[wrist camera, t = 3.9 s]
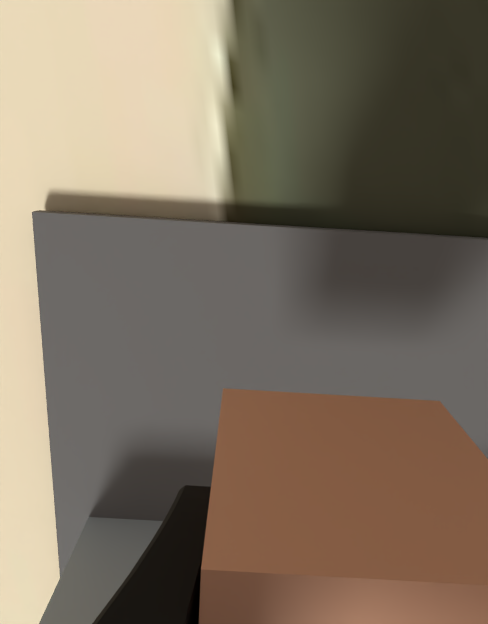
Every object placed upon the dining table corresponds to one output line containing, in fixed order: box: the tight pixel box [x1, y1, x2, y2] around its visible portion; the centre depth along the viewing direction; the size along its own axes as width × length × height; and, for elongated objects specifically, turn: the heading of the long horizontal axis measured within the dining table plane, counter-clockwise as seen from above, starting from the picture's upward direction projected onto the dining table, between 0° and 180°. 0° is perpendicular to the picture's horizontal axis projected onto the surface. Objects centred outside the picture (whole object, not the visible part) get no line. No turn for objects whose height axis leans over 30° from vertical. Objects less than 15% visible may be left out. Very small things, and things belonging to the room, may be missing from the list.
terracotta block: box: [199, 388, 488, 624], centre depth 8 cm, size 4×4×4 cm
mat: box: [32, 210, 488, 578], centre depth 17 cm, size 18×17×1 cm
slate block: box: [39, 517, 163, 624], centre depth 16 cm, size 4×4×4 cm
